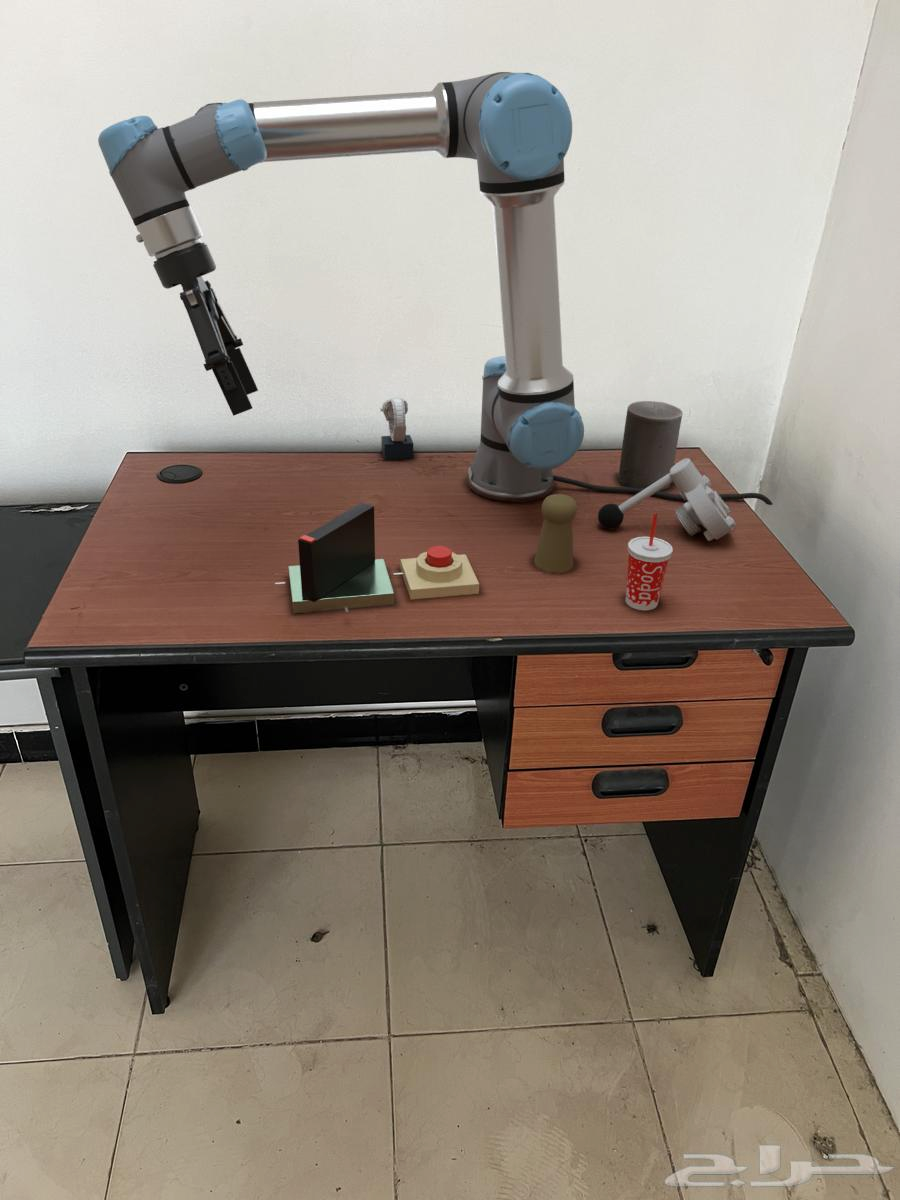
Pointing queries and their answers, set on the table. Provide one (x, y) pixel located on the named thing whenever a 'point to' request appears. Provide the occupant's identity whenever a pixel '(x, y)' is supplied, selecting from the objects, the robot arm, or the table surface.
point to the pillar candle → (649, 443)
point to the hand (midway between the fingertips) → (246, 402)
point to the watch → (396, 431)
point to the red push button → (439, 556)
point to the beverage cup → (646, 570)
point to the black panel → (336, 551)
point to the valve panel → (347, 590)
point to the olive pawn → (556, 534)
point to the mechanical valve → (696, 511)
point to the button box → (438, 577)
